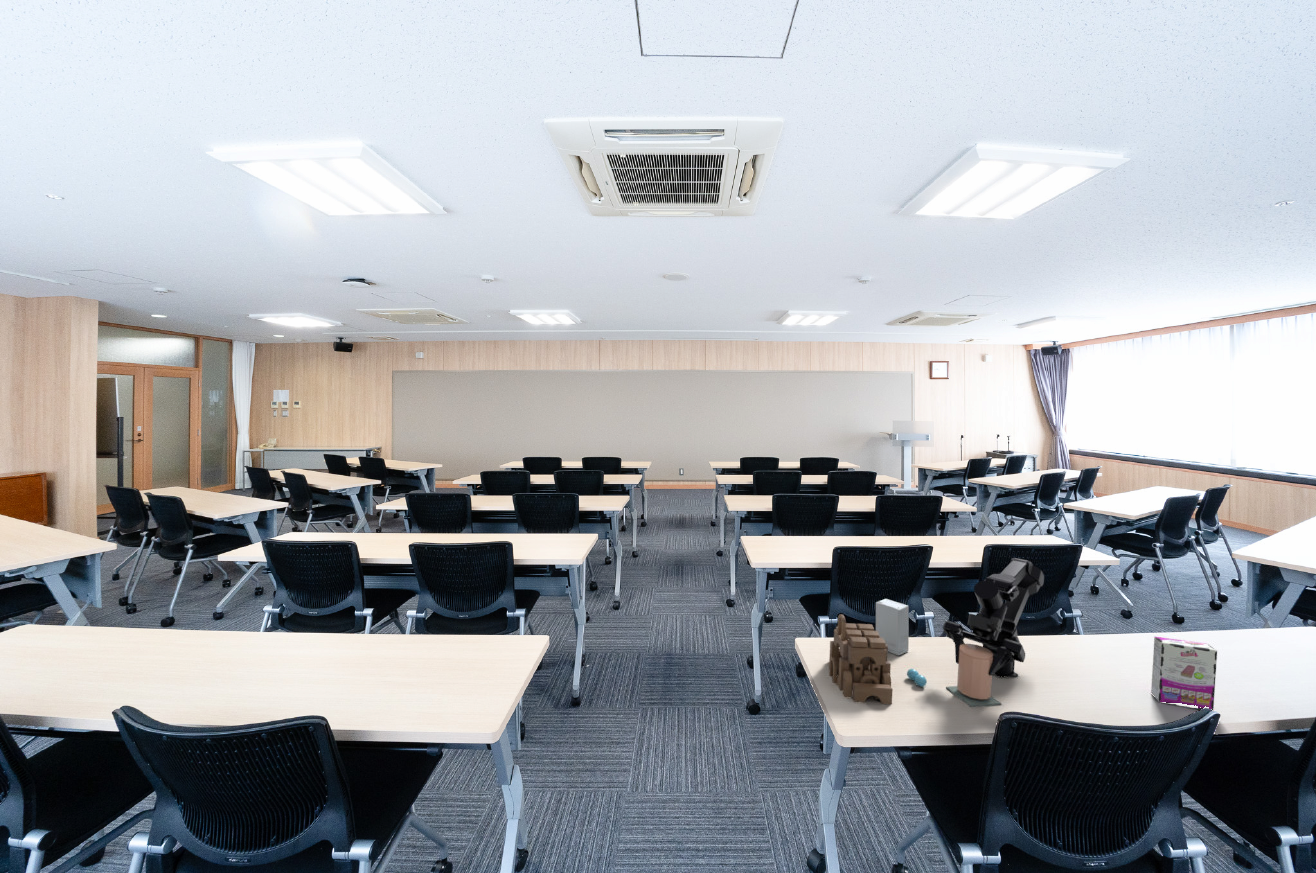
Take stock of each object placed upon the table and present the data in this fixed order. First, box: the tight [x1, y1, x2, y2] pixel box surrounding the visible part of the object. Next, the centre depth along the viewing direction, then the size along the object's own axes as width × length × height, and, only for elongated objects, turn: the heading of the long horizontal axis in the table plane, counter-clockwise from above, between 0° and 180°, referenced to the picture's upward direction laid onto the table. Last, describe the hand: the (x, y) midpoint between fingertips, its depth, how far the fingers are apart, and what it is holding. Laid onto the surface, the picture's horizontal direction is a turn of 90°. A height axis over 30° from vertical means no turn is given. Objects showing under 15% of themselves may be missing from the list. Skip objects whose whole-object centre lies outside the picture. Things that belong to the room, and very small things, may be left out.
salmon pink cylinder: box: [956, 643, 993, 699], centre depth 140 cm, size 8×8×11 cm
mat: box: [945, 685, 1002, 708], centre depth 140 cm, size 9×9×1 cm
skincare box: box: [875, 598, 910, 656], centre depth 166 cm, size 8×6×15 cm
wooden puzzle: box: [828, 613, 893, 705], centre depth 146 cm, size 22×15×19 cm, turn 176°
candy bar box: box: [1150, 636, 1218, 711], centre depth 139 cm, size 11×5×16 cm, turn 68°
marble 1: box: [906, 668, 920, 681], centre depth 148 cm, size 3×3×3 cm
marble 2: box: [913, 674, 928, 688], centre depth 144 cm, size 3×3×3 cm
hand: (972, 668), depth 139 cm, fingers closed on salmon pink cylinder, 7 cm apart
